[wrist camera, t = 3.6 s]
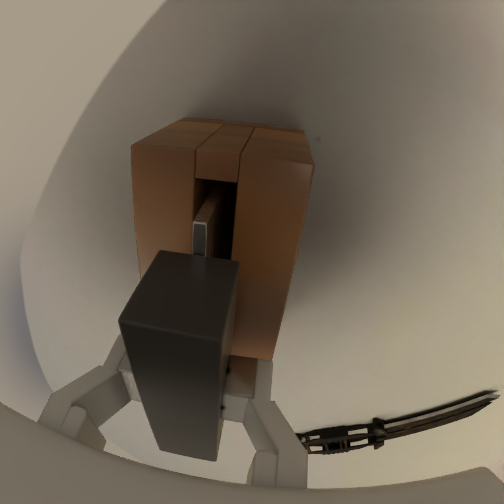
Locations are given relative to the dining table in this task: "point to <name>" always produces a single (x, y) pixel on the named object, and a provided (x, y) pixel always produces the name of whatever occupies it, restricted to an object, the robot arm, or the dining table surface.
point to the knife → (390, 428)
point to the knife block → (246, 212)
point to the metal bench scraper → (187, 332)
